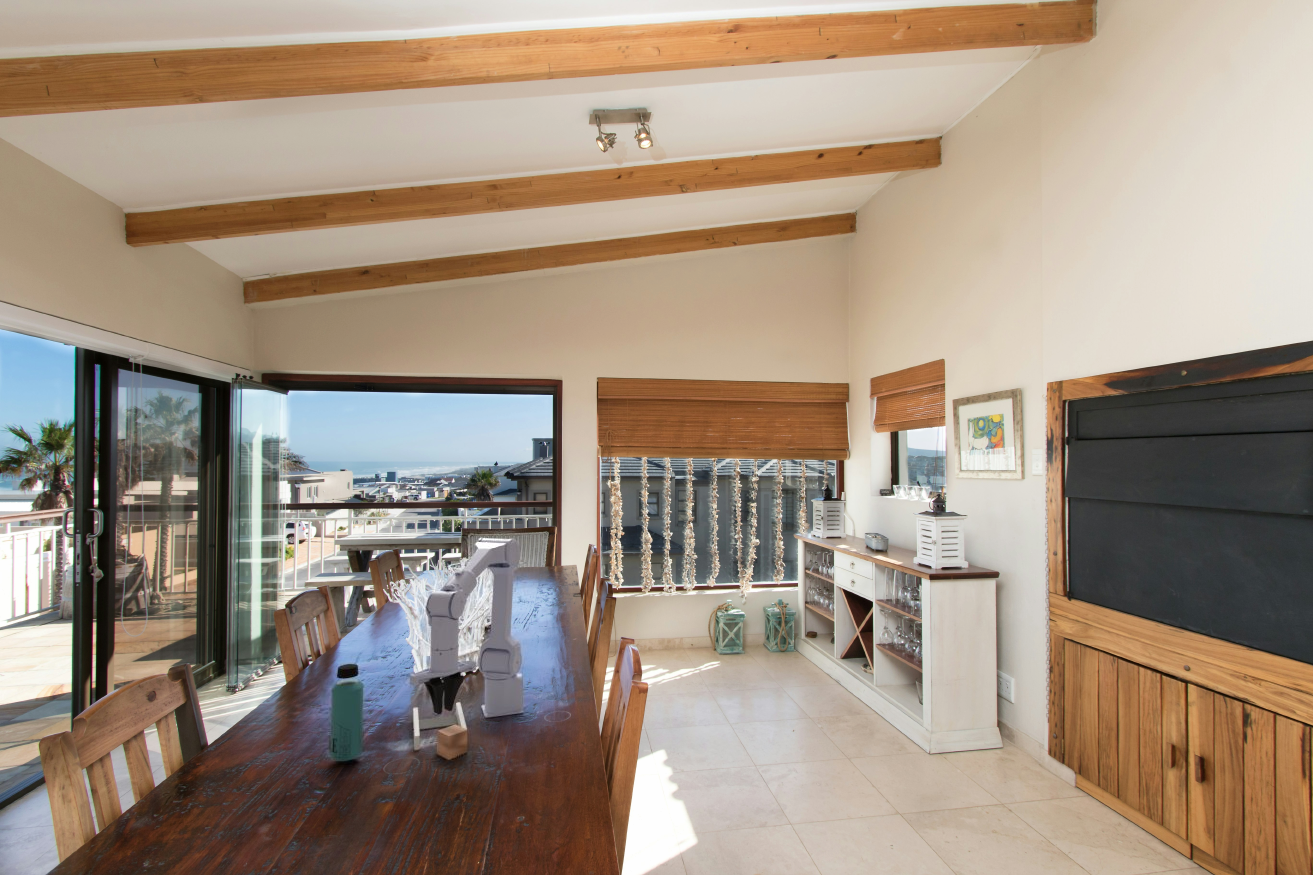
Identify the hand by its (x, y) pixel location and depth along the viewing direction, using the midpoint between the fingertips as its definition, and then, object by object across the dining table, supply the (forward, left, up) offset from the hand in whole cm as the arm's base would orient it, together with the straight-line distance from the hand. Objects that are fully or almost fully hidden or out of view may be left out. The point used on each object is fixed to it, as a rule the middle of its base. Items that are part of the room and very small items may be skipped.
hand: (443, 711), depth 140 cm
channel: (0, -14, -9) cm, 17 cm away
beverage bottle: (+19, -4, -10) cm, 22 cm away
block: (-2, -1, -10) cm, 10 cm away
